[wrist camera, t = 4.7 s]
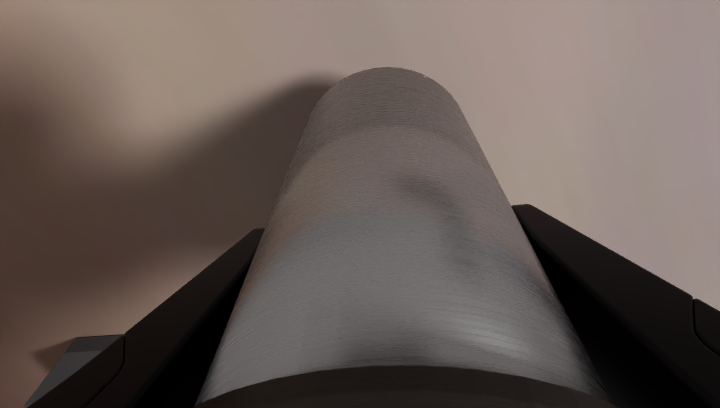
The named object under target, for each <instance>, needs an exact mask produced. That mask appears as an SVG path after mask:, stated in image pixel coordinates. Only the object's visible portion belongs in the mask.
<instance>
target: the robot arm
mask: <svg viewBox="0 0 720 408" xmlns="http://www.w3.org/2000/svg"><path fill="white" fill-rule="evenodd" d="M511 207H512V209H513V211H514V213H515V215H516V217H517V219H518V221H519V222H520V224H521V226H522V228H523V230H524V232H525V234H526V236H527V238H528V240H529V242H530V244H531V246H532V248H533V250H534V251H535V253H536V255H537V257H538V259H539V261H540V263H541V265H542V267H543V269H544V271H545V273H546V275H547V277H548V279H549V280H550V282H551V284H552V286H553V288H554V290H555V292H556V294H557V296H558V298H559V300H560V302H561V304H562V306H563V308H564V309H565V311H566V313H567V315H568V317H569V319H570V321H571V323H572V325H573V327H574V329H575V331H576V333H577V335H578V337H579V338H580V340H581V342H582V344H583V346H584V348H585V350H586V352H587V354H588V356H589V358H590V360H591V362H592V364H593V366H594V367H595V369H596V371H597V373H598V375H599V377H600V379H601V381H602V383H603V385H604V387H605V389H606V391H607V393H608V395H609V396H610V398H611V400H612V402H613V404H615V405H617V406H619V407H620V408H720V311H718V310H717V309H715V308H713V307H711V306H710V305H708V304H706V303H704V302H703V301H701V300H699V299H693V297H692V296H691V295H690V294H688V293H686V292H685V291H683V290H681V289H679V288H677V287H676V286H674V285H672V284H670V283H669V282H667V281H665V280H663V279H661V278H660V277H658V276H656V275H654V274H653V273H651V272H649V271H647V270H646V269H644V268H642V267H640V266H638V265H637V264H635V263H633V262H631V261H630V260H628V259H626V258H624V257H623V256H621V255H619V254H617V253H615V252H614V251H612V250H610V249H608V248H607V247H605V246H603V245H601V244H600V243H598V242H596V241H594V240H592V239H591V238H589V237H587V236H585V235H584V234H582V233H580V232H578V231H576V230H575V229H573V228H571V227H569V226H568V225H566V224H564V223H562V222H561V221H559V220H557V219H555V218H553V217H552V216H550V215H548V214H546V213H545V212H543V211H541V210H539V209H538V208H536V207H534V206H532V205H530V204H523V205H512V206H511ZM264 230H265V228H262V229H254V230H253V231H251V232H250V233H249V234H247V235H246V236H245V237H244V238H243V239H241V240H240V241H239V242H238V243H236V244H235V245H234V246H233V247H231V248H230V249H229V250H228V251H226V252H225V253H224V254H223V255H221V256H220V257H219V258H218V259H216V260H215V261H214V262H213V263H211V264H210V265H209V266H208V267H206V268H205V269H204V270H203V271H202V272H200V273H199V274H198V275H197V276H195V277H194V278H193V279H192V280H190V281H189V282H188V283H187V284H185V285H184V286H183V287H182V288H180V289H179V290H178V291H177V292H175V293H174V294H173V295H172V296H170V297H169V298H168V299H167V300H165V301H164V302H163V303H162V304H160V305H159V306H158V307H157V308H155V309H154V310H153V311H152V312H150V313H149V314H148V315H147V316H146V317H144V318H143V319H142V320H141V321H139V322H138V323H137V324H136V325H134V326H133V327H132V328H131V329H129V330H128V331H127V332H126V333H125V336H120V337H119V338H118V339H117V340H116V341H114V342H113V343H112V344H111V345H109V346H108V347H107V348H106V349H104V350H103V351H102V352H101V353H99V354H98V355H97V356H95V357H94V358H93V359H92V360H90V361H89V362H88V363H86V364H85V365H84V366H83V367H81V368H80V369H79V370H77V371H76V372H75V373H74V374H72V375H71V376H69V377H68V378H67V379H65V380H64V381H63V382H61V383H60V384H58V385H57V386H56V387H54V388H53V389H52V390H50V391H49V392H48V393H46V394H45V395H43V396H42V397H41V398H39V399H38V400H36V401H35V402H34V403H32V404H31V405H30V406H28V407H27V408H192V407H194V406H195V404H196V401H197V399H198V396H199V394H200V391H201V389H202V386H203V384H204V381H205V379H206V376H207V374H208V371H209V368H210V366H211V363H212V361H213V358H214V356H215V353H216V351H217V348H218V346H219V343H220V341H221V338H222V336H223V333H224V331H225V328H226V326H227V323H228V321H229V318H230V316H231V313H232V311H233V308H234V305H235V303H236V300H237V298H238V295H239V293H240V290H241V288H242V285H243V283H244V280H245V278H246V275H247V273H248V270H249V268H250V265H251V263H252V260H253V258H254V255H255V253H256V250H257V248H258V245H259V242H260V240H261V237H262V235H263V232H264Z"/></svg>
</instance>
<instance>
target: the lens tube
mask: <svg viewBox="0 0 720 408" xmlns="http://www.w3.org/2000/svg"><path fill="white" fill-rule="evenodd" d="M192 408H620V407H619V406H617V405H615V404H613V402H612V400H611V398H610V396H609V395H608V393H607V391H606V389H605V387H604V385H603V383H602V381H601V379H600V377H599V375H598V373H597V371H596V369H595V367H594V366H593V364H592V362H591V360H590V358H589V356H588V354H587V352H586V350H585V348H584V346H583V344H582V342H581V340H580V338H579V337H578V335H577V333H576V331H575V329H574V327H573V325H572V323H571V321H570V319H569V317H568V315H567V313H566V311H565V309H564V308H563V306H562V304H561V302H560V300H559V298H558V296H557V294H556V292H555V290H554V288H553V286H552V284H551V282H550V280H549V279H548V277H547V275H546V273H545V271H544V269H543V267H542V265H541V263H540V261H539V259H538V257H537V255H536V253H535V251H534V250H533V248H532V246H531V244H530V242H529V240H528V238H527V236H526V234H525V232H524V230H523V228H522V226H521V224H520V222H519V221H518V219H517V217H516V215H515V213H514V211H513V209H512V207H511V205H510V203H509V201H508V199H507V197H506V195H505V193H504V192H503V190H502V188H501V186H500V184H499V182H498V180H497V178H496V176H495V174H494V172H493V170H492V168H491V166H490V164H489V163H488V161H487V159H486V157H485V155H484V153H483V151H482V149H481V147H480V145H479V143H478V141H477V139H476V137H475V135H474V134H473V132H472V130H471V128H470V126H469V124H468V122H467V120H466V118H465V116H464V114H463V112H462V110H461V109H460V107H459V105H458V103H457V102H456V101H455V99H454V98H453V97H452V95H451V94H450V93H449V92H448V91H447V90H446V89H445V88H444V87H443V86H441V85H440V84H439V83H437V82H436V81H434V80H433V79H431V78H429V77H427V76H425V75H423V74H421V73H418V72H415V71H412V70H408V69H403V68H394V67H382V68H373V69H368V70H364V71H361V72H358V73H355V74H352V75H350V76H348V77H346V78H344V79H342V80H341V81H339V82H338V83H337V84H335V85H334V86H332V87H331V88H330V89H329V90H328V91H327V92H326V93H325V94H324V95H323V96H322V97H321V99H320V100H319V101H318V102H317V104H316V105H315V107H314V109H313V110H312V112H311V115H310V117H309V119H308V121H307V124H306V127H305V129H304V132H303V134H302V137H301V139H300V142H299V144H298V147H297V149H296V152H295V154H294V157H293V159H292V162H291V164H290V167H289V169H288V172H287V174H286V177H285V179H284V182H283V184H282V187H281V190H280V192H279V195H278V197H277V200H276V202H275V205H274V207H273V210H272V212H271V215H270V217H269V220H268V222H267V225H266V227H265V230H264V232H263V235H262V237H261V240H260V242H259V245H258V248H257V250H256V253H255V255H254V258H253V260H252V263H251V265H250V268H249V270H248V273H247V275H246V278H245V280H244V283H243V285H242V288H241V290H240V293H239V295H238V298H237V300H236V303H235V305H234V308H233V311H232V313H231V316H230V318H229V321H228V323H227V326H226V328H225V331H224V333H223V336H222V338H221V341H220V343H219V346H218V348H217V351H216V353H215V356H214V358H213V361H212V363H211V366H210V368H209V371H208V374H207V376H206V379H205V381H204V384H203V386H202V389H201V391H200V394H199V396H198V399H197V401H196V404H195V406H194V407H192Z"/></svg>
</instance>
